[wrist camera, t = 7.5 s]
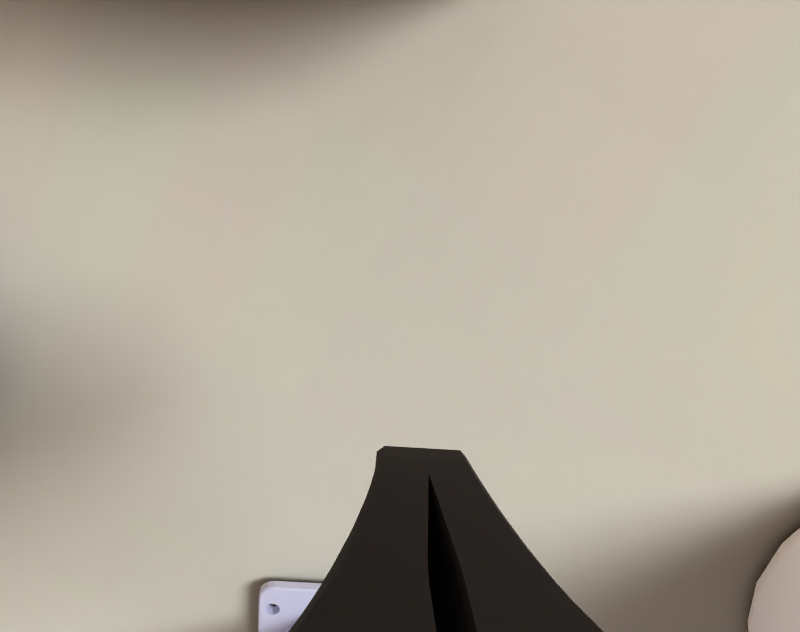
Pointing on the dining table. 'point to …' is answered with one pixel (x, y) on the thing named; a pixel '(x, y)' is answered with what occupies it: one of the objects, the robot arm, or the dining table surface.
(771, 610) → the can
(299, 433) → the dining table surface
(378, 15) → the dining table surface
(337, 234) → the dining table surface
